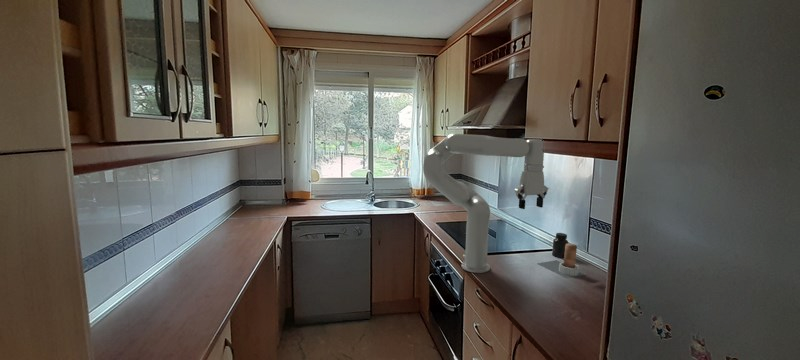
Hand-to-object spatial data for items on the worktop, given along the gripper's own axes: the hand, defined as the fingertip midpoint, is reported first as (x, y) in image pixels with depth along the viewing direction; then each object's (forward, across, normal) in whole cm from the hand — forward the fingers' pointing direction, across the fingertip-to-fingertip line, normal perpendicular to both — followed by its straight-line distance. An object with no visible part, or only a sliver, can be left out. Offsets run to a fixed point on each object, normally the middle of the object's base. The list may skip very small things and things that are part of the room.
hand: (530, 207), depth 151 cm
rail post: (+27, -14, +10) cm, 32 cm away
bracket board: (+28, -14, +6) cm, 32 cm away
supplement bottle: (+28, -26, -6) cm, 39 cm away
